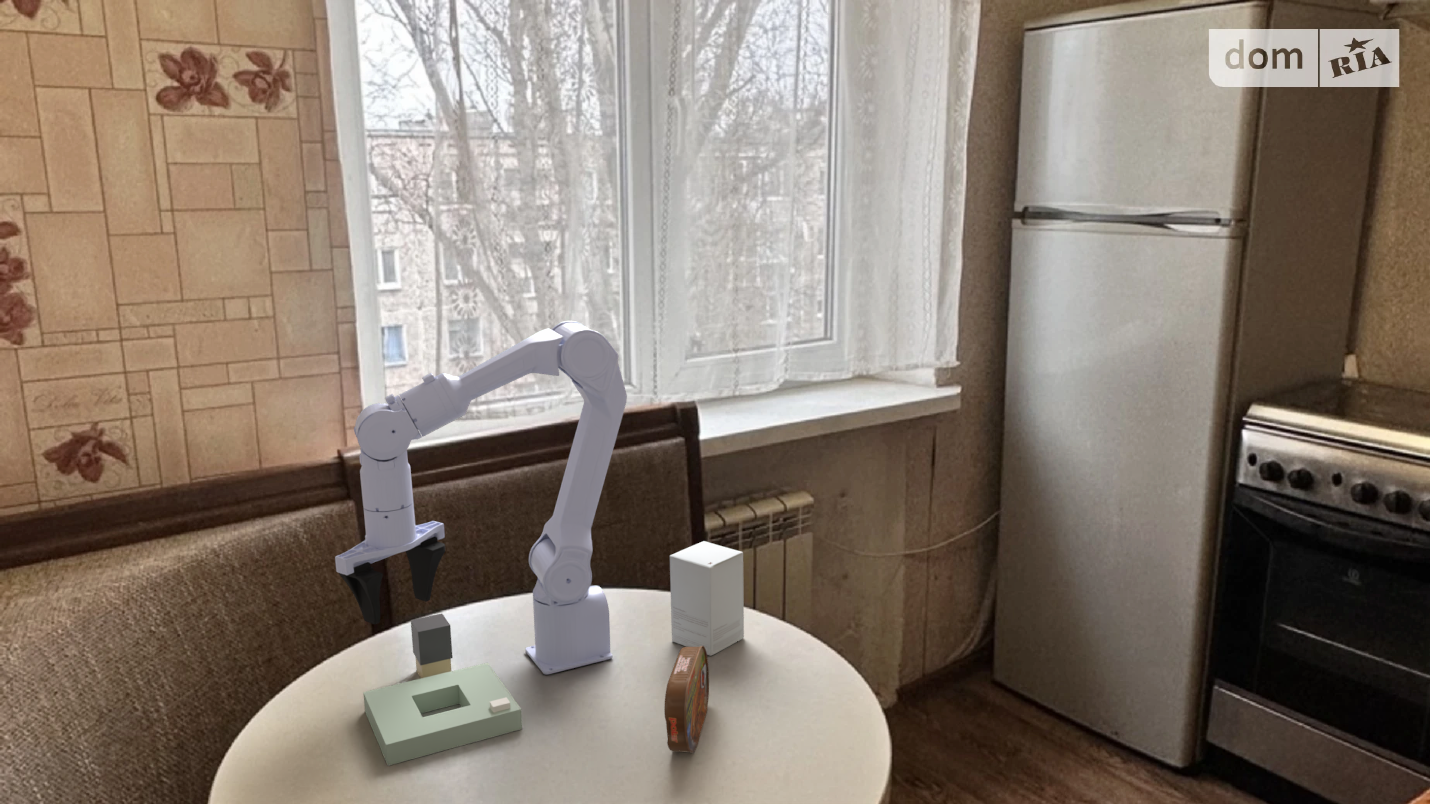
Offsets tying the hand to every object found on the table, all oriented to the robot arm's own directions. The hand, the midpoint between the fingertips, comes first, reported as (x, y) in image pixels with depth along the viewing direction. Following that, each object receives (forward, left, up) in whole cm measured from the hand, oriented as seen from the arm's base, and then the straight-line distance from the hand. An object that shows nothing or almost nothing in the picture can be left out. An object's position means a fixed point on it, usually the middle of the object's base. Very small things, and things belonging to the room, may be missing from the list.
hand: (398, 610), depth 122 cm
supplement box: (-39, +7, -10) cm, 41 cm away
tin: (-26, +26, -10) cm, 39 cm away
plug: (-4, -2, -10) cm, 11 cm away
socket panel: (-2, +10, -10) cm, 15 cm away
